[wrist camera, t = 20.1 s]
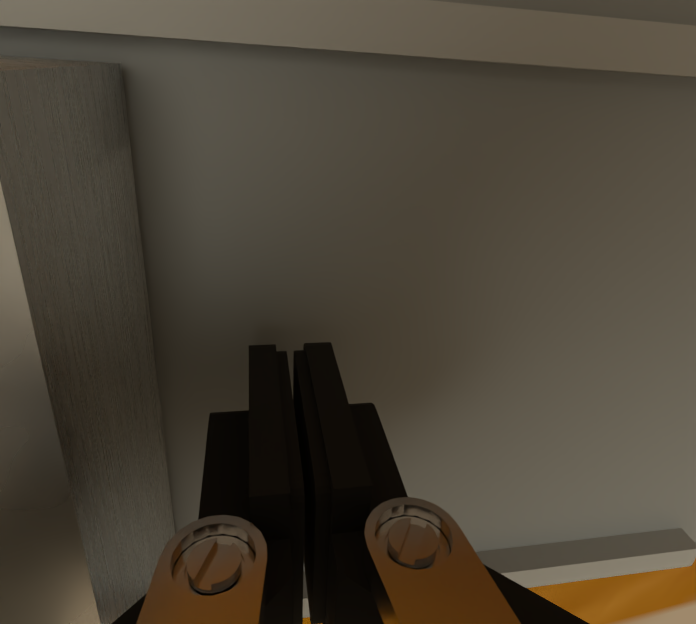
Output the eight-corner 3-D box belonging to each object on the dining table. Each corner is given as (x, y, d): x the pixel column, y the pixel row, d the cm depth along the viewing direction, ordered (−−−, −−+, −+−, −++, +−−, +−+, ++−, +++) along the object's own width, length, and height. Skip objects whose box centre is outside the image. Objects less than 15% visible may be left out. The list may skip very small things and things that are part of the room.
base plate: (896, 24, 12) (1010, 19, 10) (667, 526, 19) (710, 574, 17) (-814, -154, 7) (-1196, -230, 5) (-259, 633, 14) (-333, 719, 12)
